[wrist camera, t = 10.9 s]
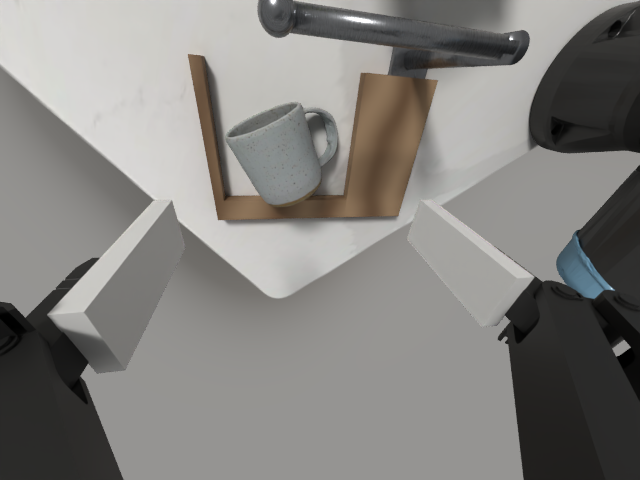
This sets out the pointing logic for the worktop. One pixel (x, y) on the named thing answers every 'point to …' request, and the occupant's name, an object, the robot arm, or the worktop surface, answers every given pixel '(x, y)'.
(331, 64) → the worktop surface
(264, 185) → the ceramic mug
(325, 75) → the worktop surface
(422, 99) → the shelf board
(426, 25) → the bent metal bar
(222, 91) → the worktop surface
